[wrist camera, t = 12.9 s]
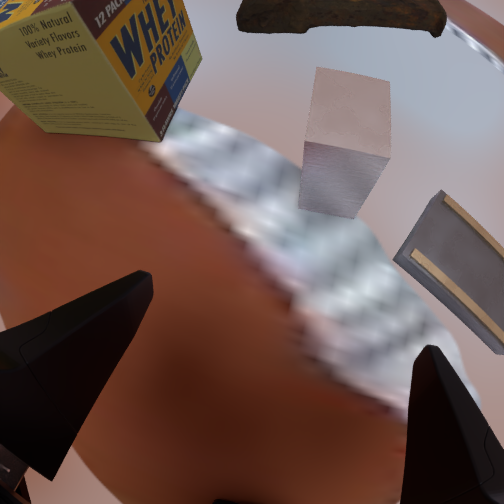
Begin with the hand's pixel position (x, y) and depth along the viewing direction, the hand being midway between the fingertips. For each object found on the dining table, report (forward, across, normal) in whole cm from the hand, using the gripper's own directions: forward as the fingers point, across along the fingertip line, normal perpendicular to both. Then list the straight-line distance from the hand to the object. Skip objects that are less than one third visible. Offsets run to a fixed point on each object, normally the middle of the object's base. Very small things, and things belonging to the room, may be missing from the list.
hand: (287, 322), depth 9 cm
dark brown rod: (+30, 0, -12) cm, 32 cm away
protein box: (+20, +21, -3) cm, 29 cm away
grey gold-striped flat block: (+12, -13, +4) cm, 18 cm away
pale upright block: (+16, -1, +1) cm, 16 cm away
